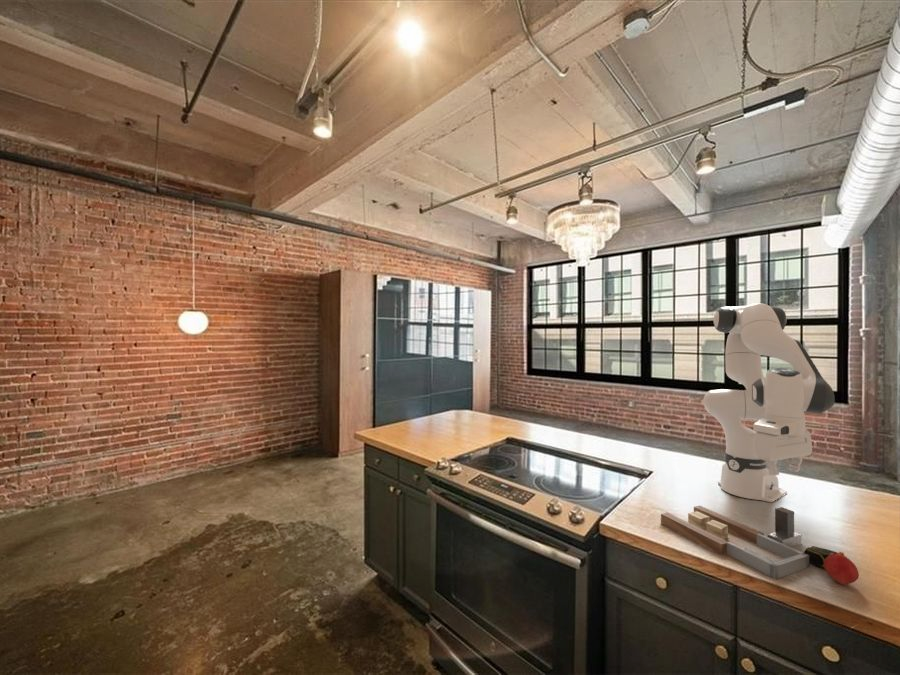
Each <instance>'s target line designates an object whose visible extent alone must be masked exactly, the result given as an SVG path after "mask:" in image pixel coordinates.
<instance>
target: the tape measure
mask: <svg viewBox="0 0 900 675" xmlns="http://www.w3.org/2000/svg"><path fill="white" fill-rule="evenodd" d="M803 553H805V554H807V555H809V564H810V563H811V564H812V565H815V566H817V567H821V568H823V569H825V568H824V560H825V559H826V558H827V557H828V556H829V555H831V554H836V553H838V552H837V551H834V550H831V549H827V548H823V547H819V546H816V545H812V546H811V547H810V546H808V547H805V550H804V551H803Z"/></svg>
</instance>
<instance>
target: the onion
mask: <svg viewBox="0 0 900 675" xmlns="http://www.w3.org/2000/svg"><path fill="white" fill-rule="evenodd" d="M823 569H824V570H825V571H826V573H827V574H828V576H830V577H831V579H833V580H834V581H835V582H836V583H838V584H839V585H840V586H841V585H842V586H846V585H849V584H853V583H855V582H857V581H858V579H859V576H860V575H859V571H858V567H857V566H856V564H855V563H854V562H853V561H852V560H850V559H849V557H847V556H846V555H845V552H843V551H839V552H837V553H836V554H831V555H829V556H828V557H827V558H826V559H825V560H824V568H823Z"/></svg>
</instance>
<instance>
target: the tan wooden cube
mask: <svg viewBox="0 0 900 675" xmlns="http://www.w3.org/2000/svg"><path fill="white" fill-rule="evenodd" d="M687 522H688V523H690V524H693V525H695V526H697V527H699V528H701V529H703V530H705V531H706V523H707V522H709V516H706V515H704V514H702V513H700V512H697V511H696V512H694V511H691V512H688V514H687Z"/></svg>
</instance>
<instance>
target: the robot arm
mask: <svg viewBox="0 0 900 675" xmlns="http://www.w3.org/2000/svg"><path fill="white" fill-rule="evenodd" d="M787 319H788V318H787V314H786V311H785V310H784V309H783V308H781V307H777V306H770V305H768V304H767V303H761V302H759V303H758V302H757V303H756V302H755V303H752V304H749V305H738V306H737V305H736V306H721V307H719V308H717V310H716V311H715V313H714V316H713V319H712V321H713V325H714V328H715V329H716V331H717V332H720V333H724V334H728V333H729V334H728V335H727V339H726V344H725V352H724V353H725V354H724V355H725V356H724V358H725V363H724V364H725V373H726V376H727V377H728V378H729V379H731V380H732V381H735V382H737V383H740V384H741V385H743V386H744V388H745V389H744V390H743V389H741V390H740V389H730V388H729V389H726V388H725V389H724V388H720V389H710V390H708V391H706V393H705V395H704V396H703V398H702V399H703V400H702V404H703V408H704V409H705V410H706V411H707V413H708V414H709V415H711V416H712V417H713V418H715V420H717V421H718V423H720V425H721V427H722V429H723V432H724V435H725V436H724V437H725V452H724V455H723V456H724V457H723V458H724V462H725V463H723V464H722V466H721V475H720V480H717V484H718V485H719V486H720V489H722V490H723V491H724V492H726V493H727V494H731V495H732V496H733V495H734V496H737V497H740V498H743V499H744V498H745V499H749V500H757V501H763V502H769V503H773V501H774V502H775V500H776V501H777V499H778V498H779V499H781V498H782V497H781V496H783V495H784V494H786V493H787V494H788V492H787V490H785V489H783V488H781V487H779V478H778V476H779V475H780V469H779V468H778V467H777V464H778V461H782V460H786V459H787V460H788V459H791V462H790V463H789V464H788V465H789V466H788V467H789V468H788V469H789V471H790V472H795V473H796V472H799V471H800V468H801V467H800V466H801V465H802V462H803V457H806V456H807V457H808V456H810V455H811V454H812V453H813V443H812V435H811V432H810V431H809V430H808V427H807V426H806V413H810V414H817V415H820V414H823V413H825V412H827V411H828V410H830V409H831V408H833V406H834V405H835V402H836V399H835V398H836V397H835V392H834V390H833V388H832V387H831V386H830V384H829V383H828V382H827V381H826V380H825V379H824V378H823V376H822V374H821V372H820V371H819V369H818V368H817V366H816V364H815V363H814V361H813V360H812V358H811V356H810V355H809V354H808V352H807V350H806V348H805V347H804V345H803V344H802V343H801V341H799V340H796V339H794V338H792V337H791V336H789V335H788V334H787V333H786V332H785V331H784V329H785V327H786V324H787ZM761 356H765V357H771V358H773V359H774V358H775V359H777V360H780V361H784V362H786V363H787V364H790V366H791V367H792V368H793V369H789V368H781V367H780V368H776V367H775V368H771V369H768V370H767V371H766V373H765V376H764V374H763V368H762V357H761ZM743 420H749V421H750V420H751V421H756V422H754V423H753V425H752V426H753V427H752V428H753V429H752V428H751V427H747V426H746V425H744V424H743V423H742V421H743ZM787 494H786V495H787ZM784 496H785V495H784ZM784 496H783V497H784ZM780 497H781V498H780ZM779 499H778V500H779Z"/></svg>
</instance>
